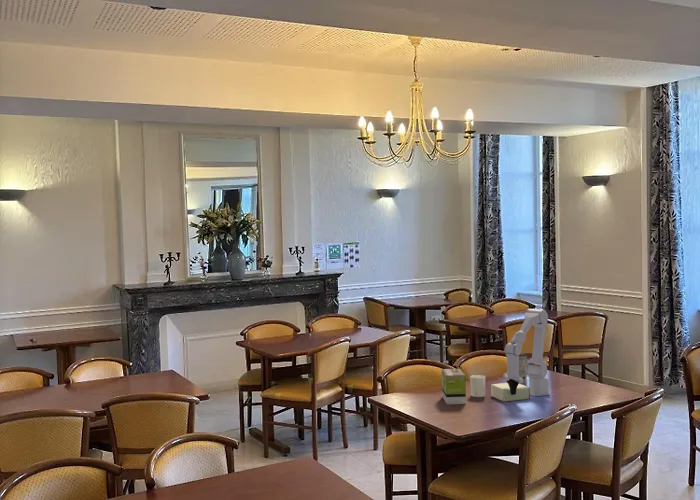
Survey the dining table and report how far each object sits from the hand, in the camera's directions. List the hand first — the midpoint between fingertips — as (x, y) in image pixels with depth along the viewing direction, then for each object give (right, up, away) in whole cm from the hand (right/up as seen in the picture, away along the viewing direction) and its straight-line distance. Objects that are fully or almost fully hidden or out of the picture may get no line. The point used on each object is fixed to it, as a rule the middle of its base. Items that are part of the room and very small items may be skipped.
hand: (513, 394), depth 339 cm
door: (+3, -3, +2) cm, 4 cm away
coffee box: (+13, -2, +42) cm, 44 cm away
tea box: (-29, -4, +4) cm, 29 cm away
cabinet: (0, -3, +8) cm, 9 cm away
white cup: (-15, -4, +13) cm, 20 cm away
